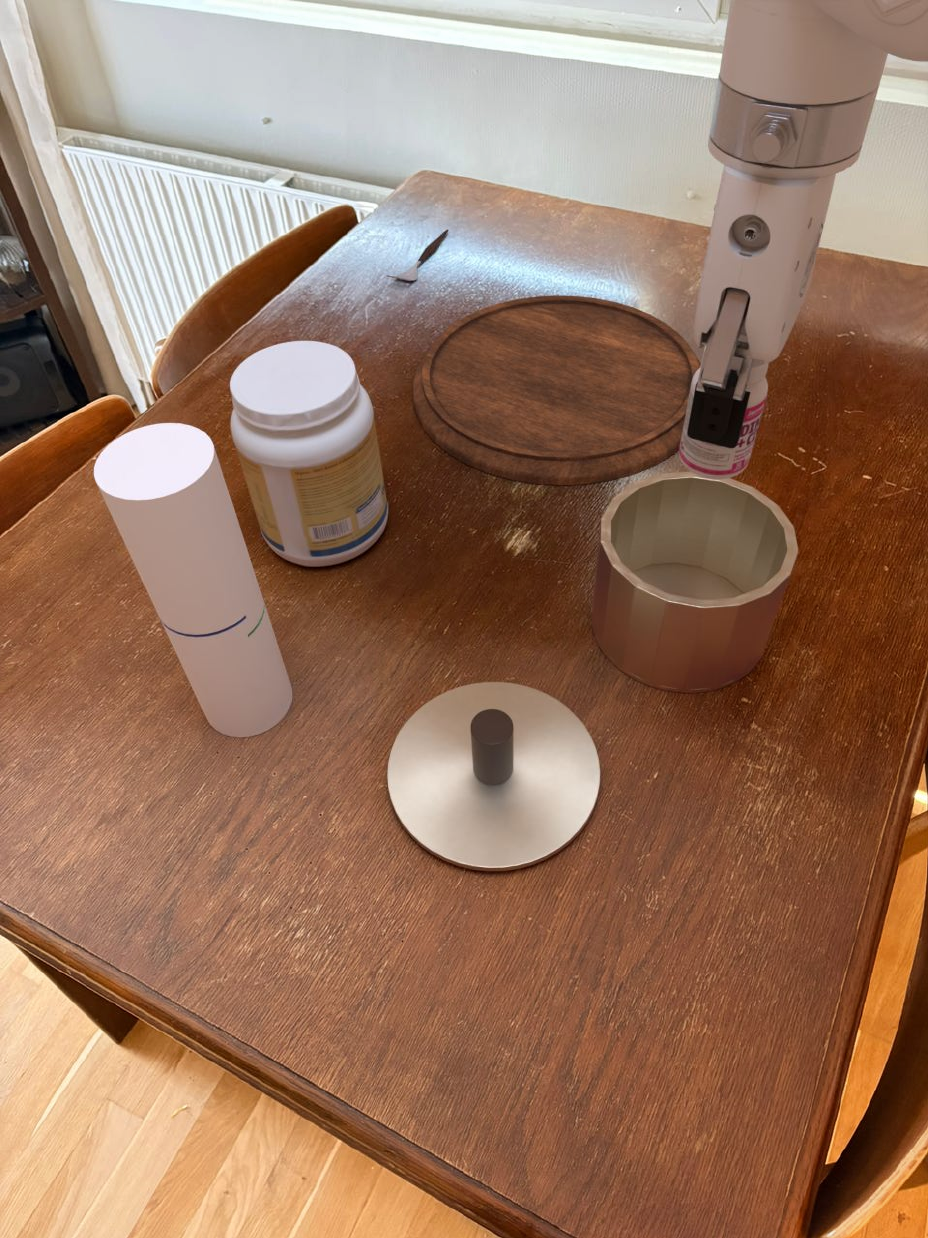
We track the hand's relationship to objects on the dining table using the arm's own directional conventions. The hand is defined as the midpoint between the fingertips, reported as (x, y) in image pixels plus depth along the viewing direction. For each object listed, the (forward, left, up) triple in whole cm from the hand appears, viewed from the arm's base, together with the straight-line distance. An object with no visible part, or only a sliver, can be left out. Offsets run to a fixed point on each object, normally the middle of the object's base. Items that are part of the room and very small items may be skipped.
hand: (724, 413), depth 58 cm
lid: (+8, +19, -22) cm, 30 cm away
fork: (+49, -47, -23) cm, 72 cm away
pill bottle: (0, 0, -4) cm, 4 cm away
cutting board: (+22, -28, -23) cm, 42 cm away
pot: (0, -1, -22) cm, 22 cm away
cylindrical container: (+29, +21, -23) cm, 43 cm away
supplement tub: (+34, +1, -23) cm, 41 cm away
